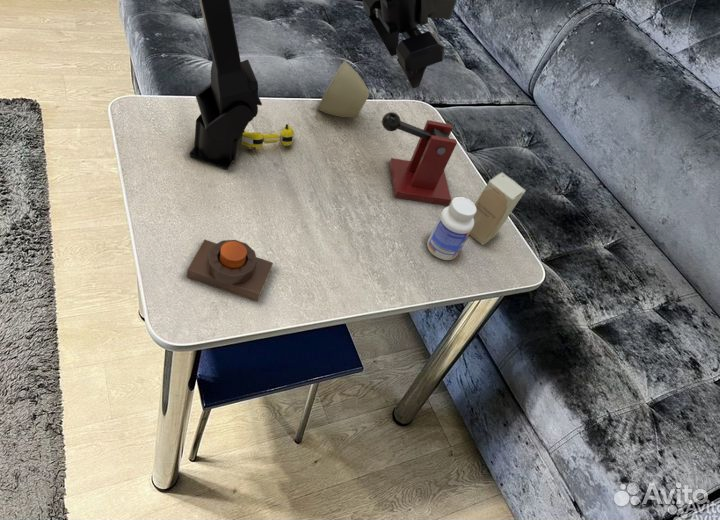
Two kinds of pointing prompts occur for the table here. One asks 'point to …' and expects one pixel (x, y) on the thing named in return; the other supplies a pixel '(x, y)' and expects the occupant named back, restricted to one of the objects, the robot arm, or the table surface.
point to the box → (495, 207)
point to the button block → (230, 271)
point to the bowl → (344, 93)
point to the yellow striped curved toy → (268, 138)
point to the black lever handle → (408, 127)
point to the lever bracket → (425, 168)
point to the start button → (233, 254)
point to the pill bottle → (452, 229)
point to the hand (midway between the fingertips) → (404, 70)
